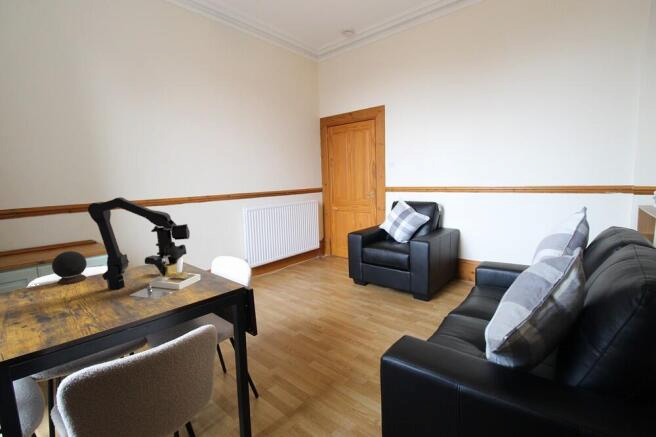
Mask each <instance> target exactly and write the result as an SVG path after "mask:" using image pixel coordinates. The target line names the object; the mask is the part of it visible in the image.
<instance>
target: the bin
mask: <svg viewBox="0 0 656 437" xmlns="http://www.w3.org/2000/svg"><path fill="white" fill-rule="evenodd" d="M172 278H173V279H183V280H182V281H180V282H172V281H168V280H170V279H172ZM200 280H201V274H200V273H189V272H187V276H186V277H184V278H180V277H169V278H167V277H160V276H157V277H155V278H153V279H150V280H148V284H149V285H150V286H152V288H159V289H168V290H182V289H184V288H187V287H188V286H190V285H192V284H195V283H196V282H198V281H200ZM149 285H148V286H149Z"/></svg>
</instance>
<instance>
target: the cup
mask: <svg viewBox="0 0 656 437" xmlns="http://www.w3.org/2000/svg"><path fill="white" fill-rule="evenodd" d="M183 259H184V255H183V256H182V257H180V258H179V259H178V261H177V264H176V265H177V272H180V273H181V272H183V264H184V263H183V262H184V260H183ZM164 261H166V263H165V264H167V263H169V260H168V257H167V258H164Z"/></svg>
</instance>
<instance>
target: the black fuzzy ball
mask: <svg viewBox="0 0 656 437" xmlns="http://www.w3.org/2000/svg"><path fill="white" fill-rule="evenodd" d="M87 265H88V264H87V259H86V257H85V256H84V255H83V254H82V253H80V252H78V251H73V250H69V251H64V252H61V253H59V254H58V255H56V256H55V257H54V259H53V260H52V263H51V269H52V271H53V273H54V274H55V275H56V276H57V277H60V278H59V279H58V280H57V285H58V286H68V285H74V284H77V283H81V282H84V281H86V280H87V279H86V278H87V276H86V275H85V274H83V272H84V271H85V270H86V268H87ZM85 279H86V280H85Z"/></svg>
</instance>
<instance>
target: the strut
mask: <svg viewBox="0 0 656 437" xmlns="http://www.w3.org/2000/svg"><path fill="white" fill-rule="evenodd" d="M187 273H188V272H187V271H182V272H181V273H180V272H177V265H176V264H173V263H167V264H166V263H165V276H163V275H162V274H161V272H160V271H159V277H167V278H169V277H180V278H179V279H181V278H184V277H186V276H187Z"/></svg>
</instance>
